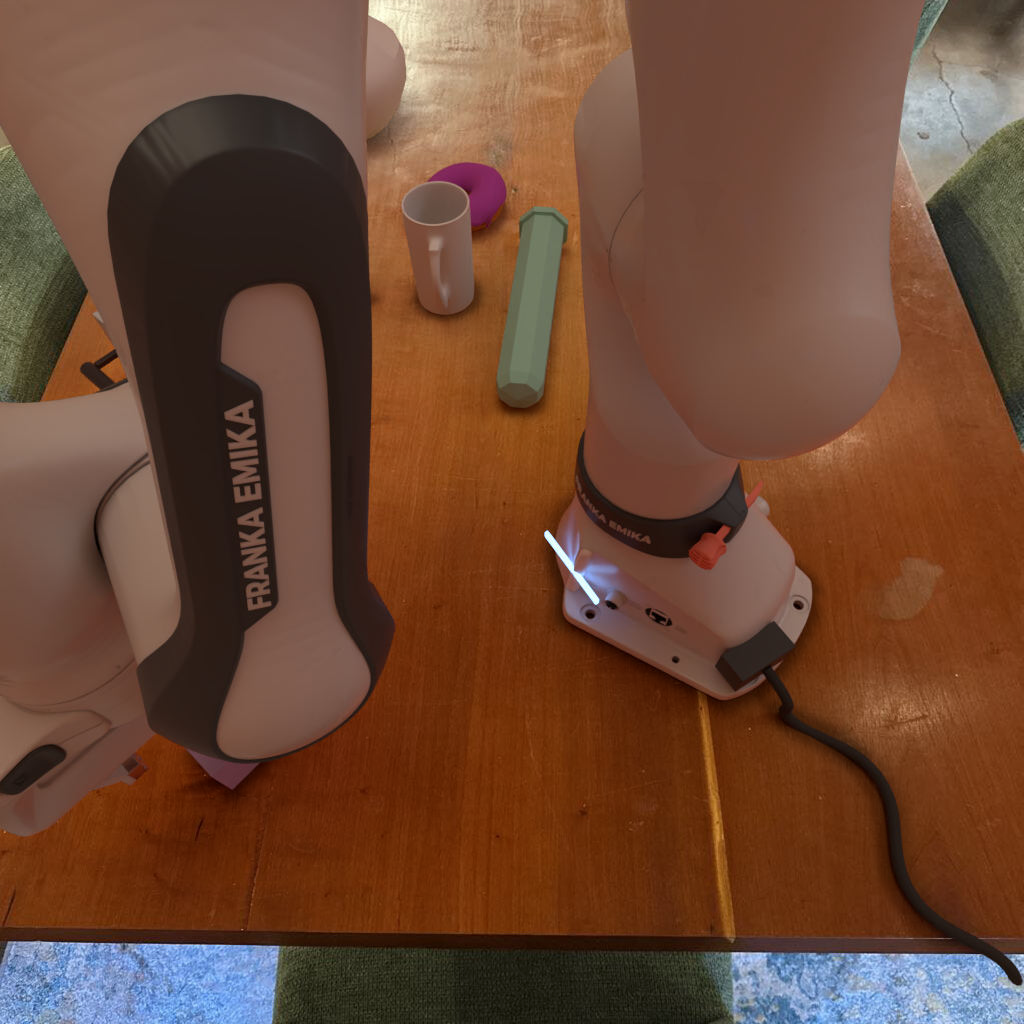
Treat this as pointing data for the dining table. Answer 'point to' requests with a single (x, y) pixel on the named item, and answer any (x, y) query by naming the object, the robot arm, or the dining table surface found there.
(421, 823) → the dining table surface
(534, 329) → the container
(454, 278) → the mug
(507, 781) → the dining table surface
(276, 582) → the robot arm
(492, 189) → the donut
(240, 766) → the mauve cube
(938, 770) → the dining table surface
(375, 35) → the vase
